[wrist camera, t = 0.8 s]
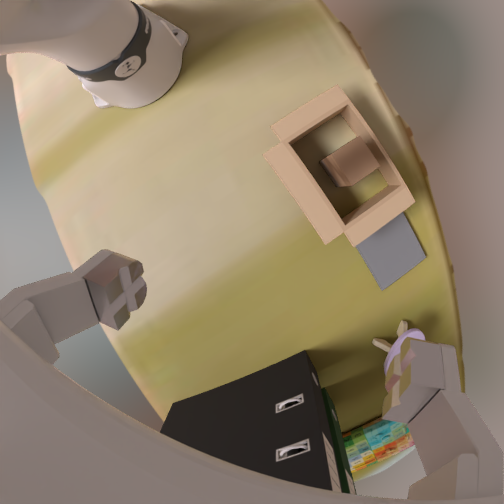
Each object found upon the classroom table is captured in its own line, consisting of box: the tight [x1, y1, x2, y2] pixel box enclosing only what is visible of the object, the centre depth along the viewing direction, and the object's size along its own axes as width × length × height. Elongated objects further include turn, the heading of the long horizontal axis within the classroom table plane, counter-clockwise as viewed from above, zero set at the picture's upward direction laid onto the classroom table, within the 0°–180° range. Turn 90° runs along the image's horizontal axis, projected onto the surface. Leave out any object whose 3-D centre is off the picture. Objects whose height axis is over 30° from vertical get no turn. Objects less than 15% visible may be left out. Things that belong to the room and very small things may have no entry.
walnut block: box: [319, 136, 380, 187], centre depth 37 cm, size 4×4×9 cm
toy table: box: [372, 320, 425, 375], centre depth 44 cm, size 10×9×6 cm
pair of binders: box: [160, 350, 357, 495], centre depth 35 cm, size 27×15×32 cm, turn 118°
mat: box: [356, 212, 426, 290], centre depth 43 cm, size 9×9×1 cm
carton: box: [262, 84, 415, 247], centre depth 40 cm, size 19×14×5 cm
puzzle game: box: [342, 417, 415, 473], centre depth 49 cm, size 12×5×20 cm
